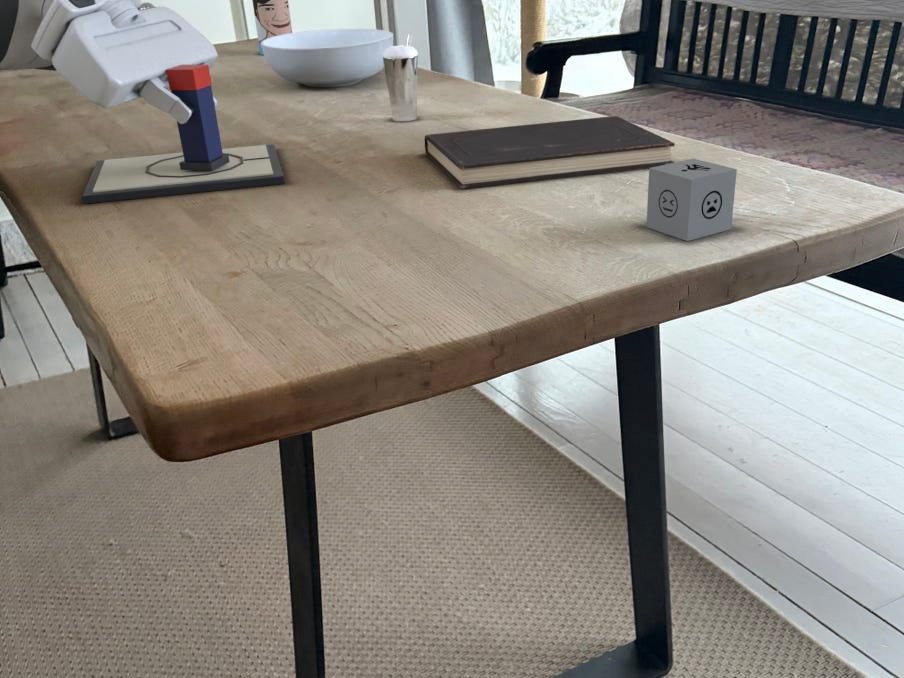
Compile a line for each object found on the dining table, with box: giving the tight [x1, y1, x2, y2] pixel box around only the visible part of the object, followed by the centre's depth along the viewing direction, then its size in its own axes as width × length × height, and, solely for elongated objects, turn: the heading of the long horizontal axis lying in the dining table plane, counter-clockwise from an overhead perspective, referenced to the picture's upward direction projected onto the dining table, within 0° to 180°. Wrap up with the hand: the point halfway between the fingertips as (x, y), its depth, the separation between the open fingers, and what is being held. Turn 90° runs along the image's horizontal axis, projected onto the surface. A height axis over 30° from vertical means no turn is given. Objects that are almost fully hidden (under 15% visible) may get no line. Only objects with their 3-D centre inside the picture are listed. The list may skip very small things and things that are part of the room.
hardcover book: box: [424, 115, 675, 190], centre depth 103 cm, size 16×23×2 cm
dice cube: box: [645, 158, 738, 242], centre depth 80 cm, size 5×5×5 cm
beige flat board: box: [81, 143, 285, 205], centre depth 104 cm, size 20×16×1 cm
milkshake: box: [382, 33, 419, 122], centre depth 124 cm, size 5×5×10 cm
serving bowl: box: [261, 28, 394, 88], centre depth 152 cm, size 21×21×7 cm
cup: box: [252, 0, 293, 56], centre depth 184 cm, size 7×7×15 cm
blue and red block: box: [166, 65, 230, 171], centre depth 100 cm, size 4×4×10 cm
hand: (200, 114), depth 99 cm, fingers closed on blue and red block, 3 cm apart
